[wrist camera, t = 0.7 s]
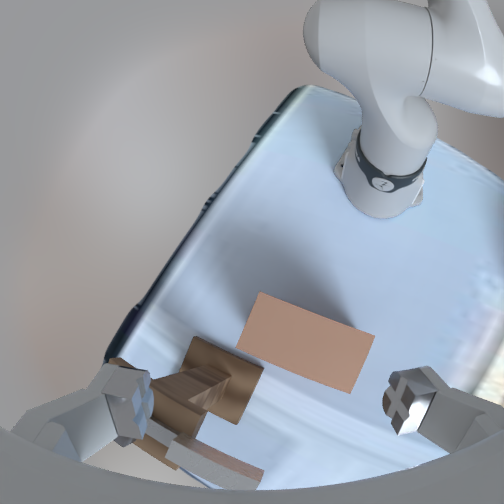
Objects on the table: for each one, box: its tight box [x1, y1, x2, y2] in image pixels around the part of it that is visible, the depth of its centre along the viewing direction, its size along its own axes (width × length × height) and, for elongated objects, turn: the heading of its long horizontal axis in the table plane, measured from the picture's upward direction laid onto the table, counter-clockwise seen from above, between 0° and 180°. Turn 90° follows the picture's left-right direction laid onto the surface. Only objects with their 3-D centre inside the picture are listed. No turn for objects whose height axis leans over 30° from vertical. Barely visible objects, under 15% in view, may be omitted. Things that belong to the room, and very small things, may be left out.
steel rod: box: [145, 416, 264, 490], centre depth 23 cm, size 2×16×2 cm, turn 67°
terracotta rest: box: [236, 292, 375, 394], centre depth 42 cm, size 8×16×15 cm, turn 67°
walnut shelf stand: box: [109, 336, 264, 470], centre depth 37 cm, size 12×14×28 cm
